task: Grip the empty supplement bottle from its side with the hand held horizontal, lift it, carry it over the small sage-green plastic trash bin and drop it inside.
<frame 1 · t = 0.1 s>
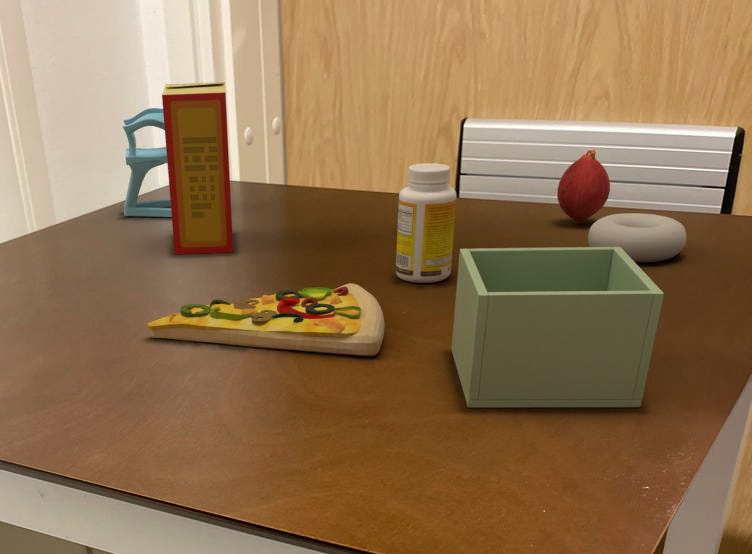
pizza slice: (265, 334, 86), on the table
trash bin: (539, 376, 75), on the table
donut: (633, 255, 104), on the table
onion: (578, 225, 115), on the table
baking soda box: (204, 244, 112), on the table
chair: (156, 214, 126), on the table
supplement bottle: (422, 279, 99), on the table
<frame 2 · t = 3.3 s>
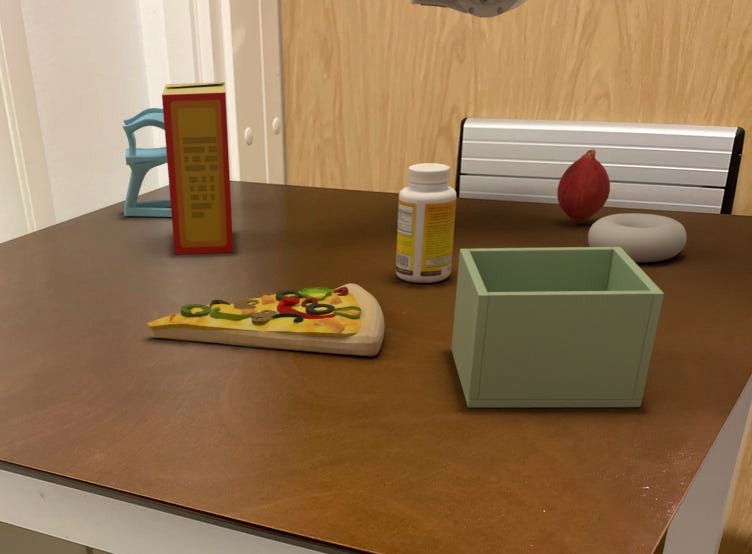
nothing on the table moved.
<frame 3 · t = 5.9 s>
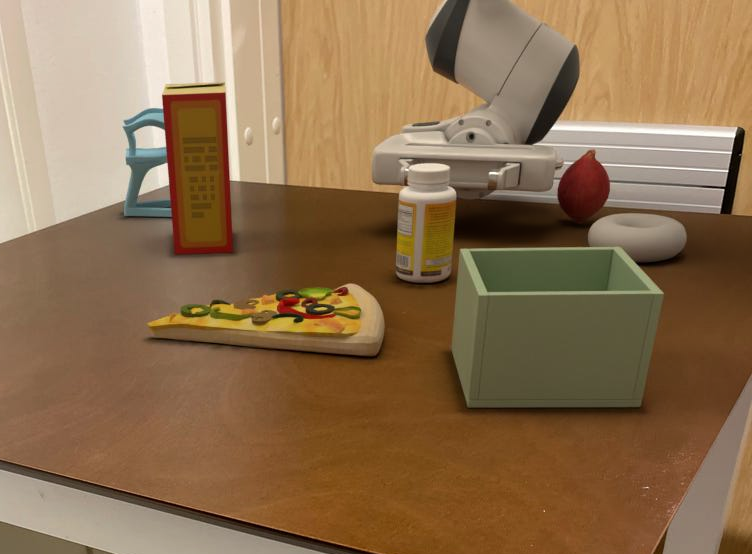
hand: (450, 179, 102), 7 cm above the table, tool horizontal, fingers open, 8 cm apart
nothing on the table moved.
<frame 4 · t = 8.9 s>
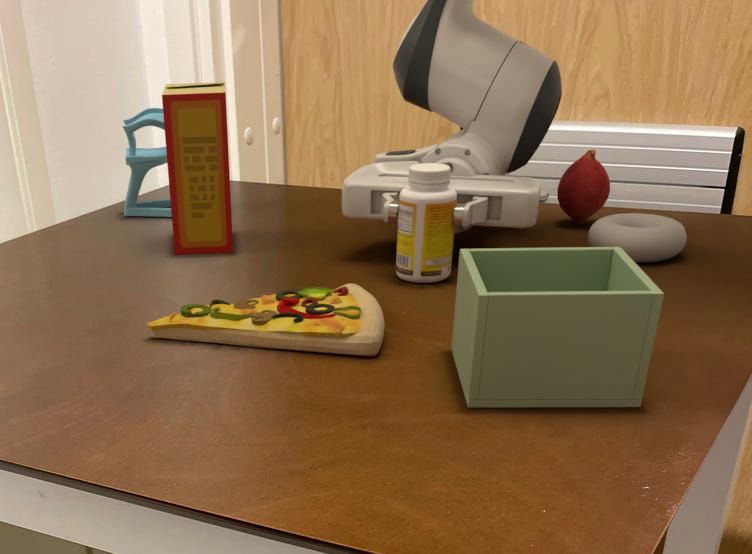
hand: (424, 215, 94), 6 cm above the table, tool horizontal, fingers closed on supplement bottle, 5 cm apart
supplement bottle: (422, 279, 99), on the table, touching gripper
everything else where it was.
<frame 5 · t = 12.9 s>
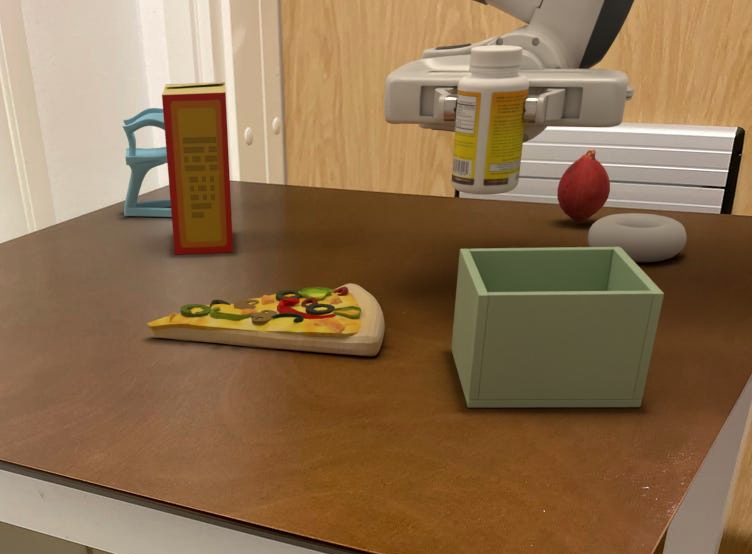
hand: (488, 110, 77), 17 cm above the table, tool horizontal, fingers closed on supplement bottle, 5 cm apart
supplement bottle: (483, 191, 82), point 10 cm above the table, touching gripper
everything else where it was.
when the fingers open (12 cm above the table, at t = 16.9 s): supplement bottle drops 5 cm, resting on trash bin.
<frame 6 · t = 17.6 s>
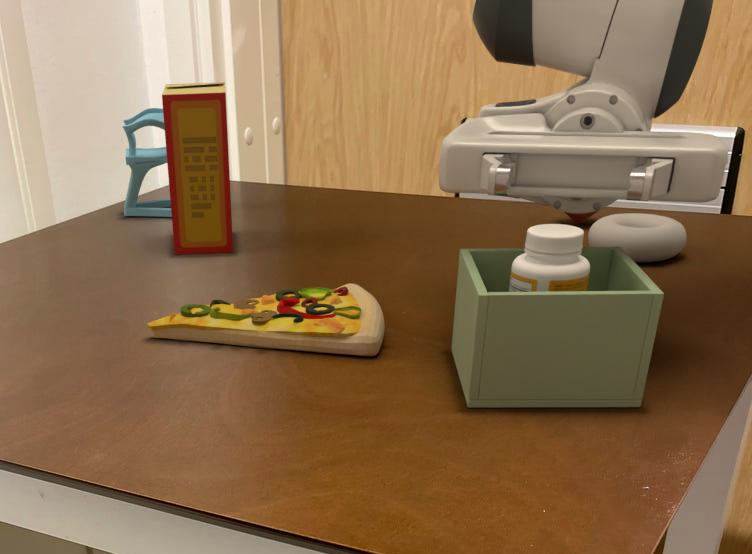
hand: (567, 185, 66), 14 cm above the table, tool horizontal, fingers open, 8 cm apart
supplement bottle: (536, 372, 75), resting on trash bin
everything else where it was.
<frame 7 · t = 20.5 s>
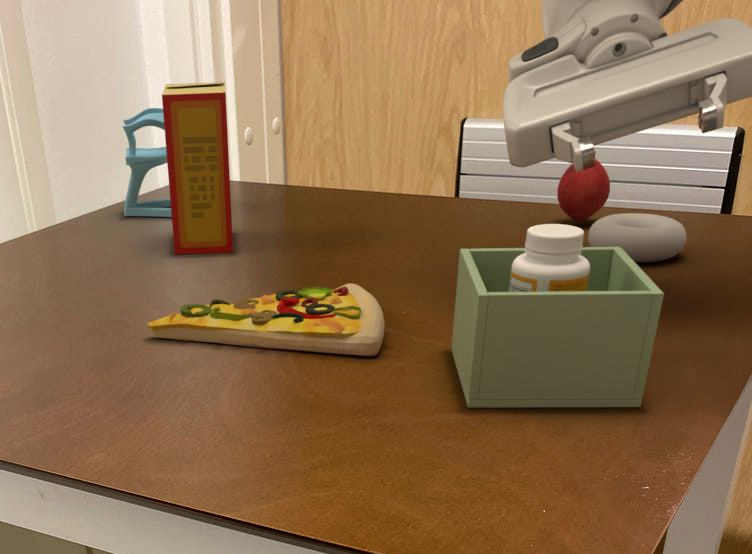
hand: (648, 141, 75), 15 cm above the table, tool tilted 75°, fingers open, 8 cm apart
nothing on the table moved.
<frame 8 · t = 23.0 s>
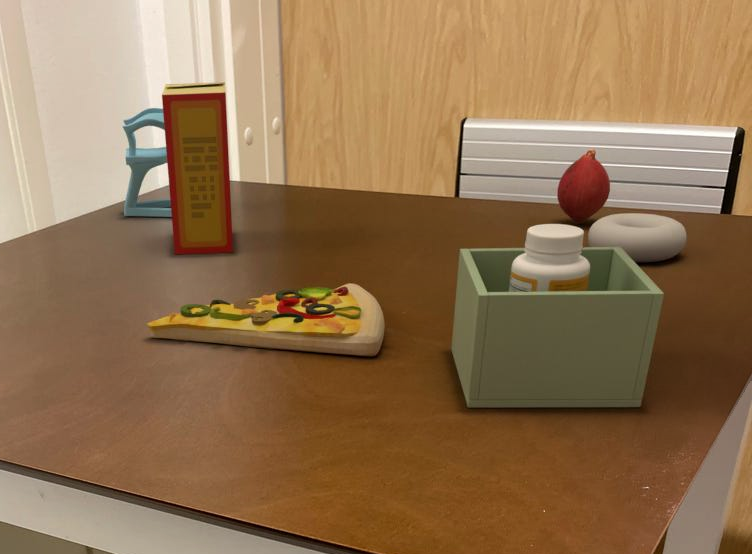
nothing on the table moved.
at the end: supplement bottle inside the target area in the trash bin (0.3 cm from its centre), point 0.4 cm above the trash bin's base; the gripper is holding nothing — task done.
